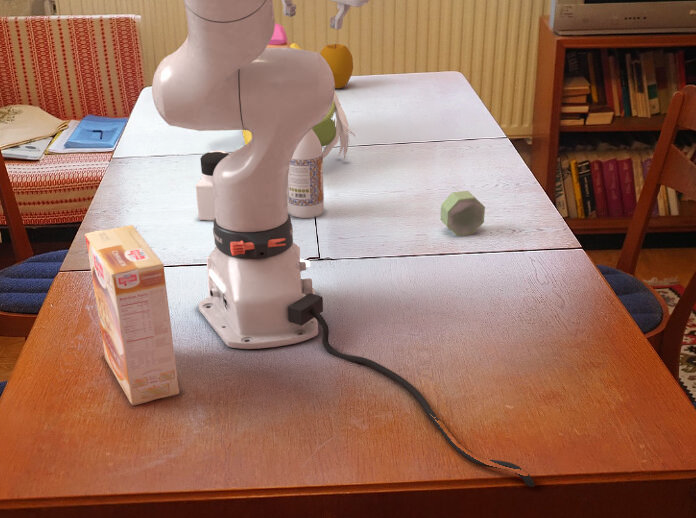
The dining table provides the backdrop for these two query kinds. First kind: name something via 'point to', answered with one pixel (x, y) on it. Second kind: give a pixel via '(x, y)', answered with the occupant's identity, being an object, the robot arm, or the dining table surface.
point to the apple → (339, 63)
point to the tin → (462, 213)
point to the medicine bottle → (207, 185)
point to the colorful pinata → (326, 127)
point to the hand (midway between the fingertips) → (312, 21)
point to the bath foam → (306, 178)
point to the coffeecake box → (133, 313)
